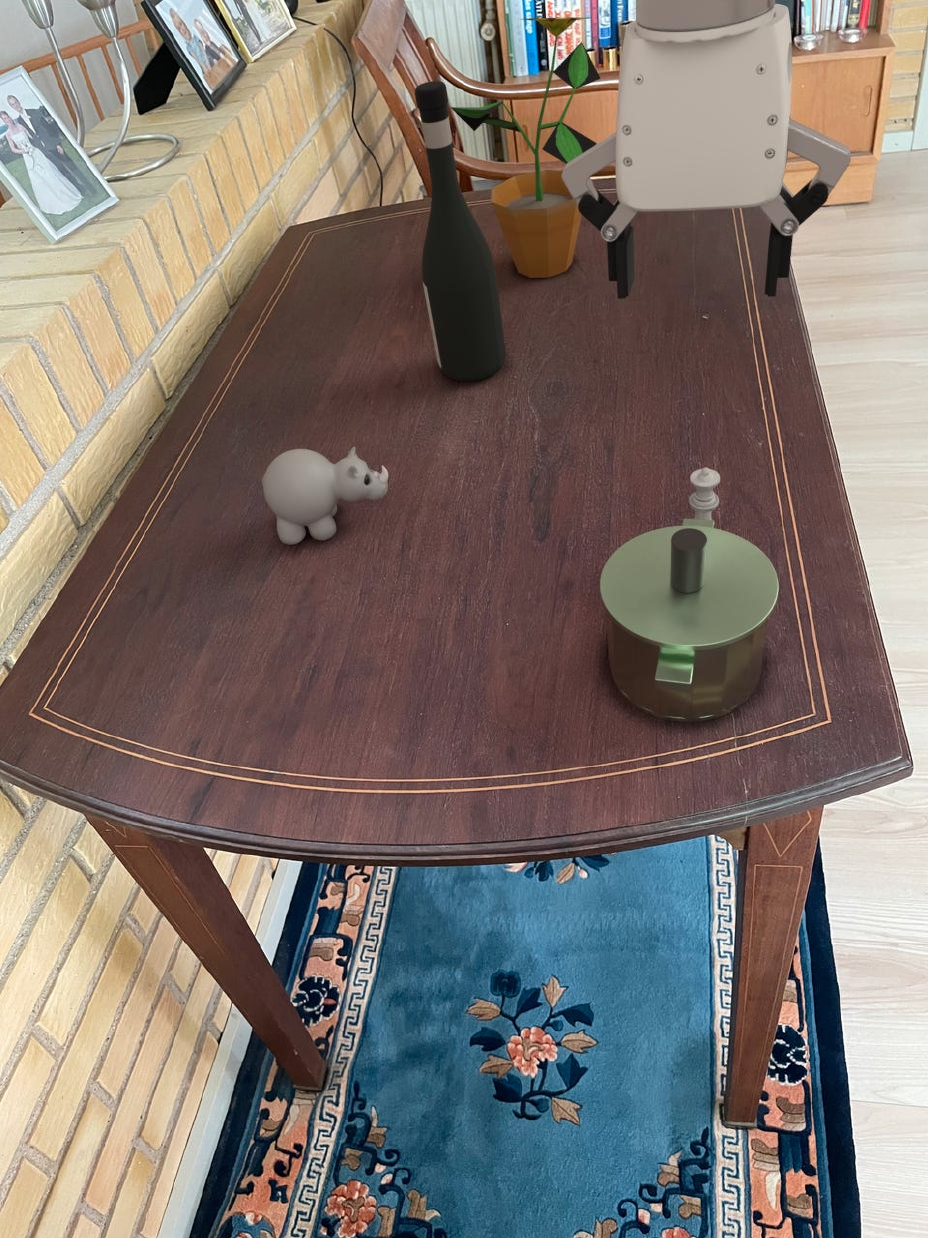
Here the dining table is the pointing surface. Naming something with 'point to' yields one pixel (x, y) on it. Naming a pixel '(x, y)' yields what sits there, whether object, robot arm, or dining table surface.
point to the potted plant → (541, 175)
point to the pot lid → (689, 587)
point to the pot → (685, 672)
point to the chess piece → (704, 493)
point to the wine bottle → (456, 259)
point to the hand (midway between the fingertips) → (697, 288)
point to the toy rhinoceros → (316, 491)
